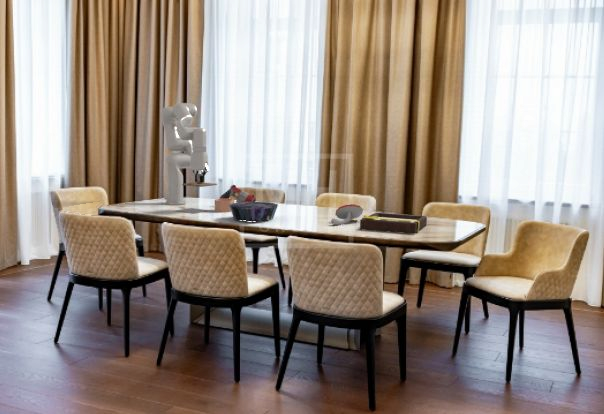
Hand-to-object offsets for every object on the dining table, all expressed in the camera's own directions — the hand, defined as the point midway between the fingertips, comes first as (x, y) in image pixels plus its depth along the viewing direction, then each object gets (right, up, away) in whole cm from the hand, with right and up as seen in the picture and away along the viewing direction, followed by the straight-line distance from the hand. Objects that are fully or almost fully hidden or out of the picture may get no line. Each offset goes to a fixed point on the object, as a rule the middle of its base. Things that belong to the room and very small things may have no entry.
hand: (199, 181), depth 377 cm
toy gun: (+19, -15, +25) cm, 35 cm away
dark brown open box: (+106, -26, -38) cm, 115 cm away
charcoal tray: (-5, -17, +2) cm, 18 cm away
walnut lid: (0, -2, 0) cm, 2 cm away
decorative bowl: (+32, -21, -20) cm, 44 cm away
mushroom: (+80, -23, -24) cm, 87 cm away
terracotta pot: (+14, -17, +4) cm, 22 cm away
